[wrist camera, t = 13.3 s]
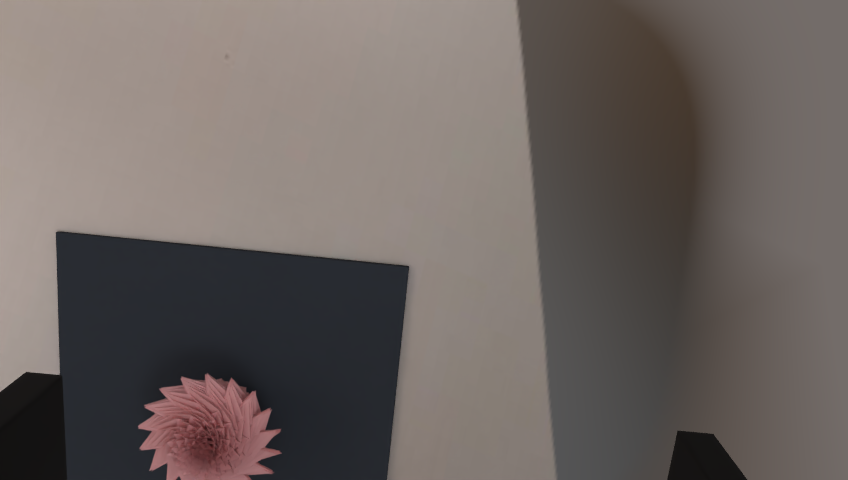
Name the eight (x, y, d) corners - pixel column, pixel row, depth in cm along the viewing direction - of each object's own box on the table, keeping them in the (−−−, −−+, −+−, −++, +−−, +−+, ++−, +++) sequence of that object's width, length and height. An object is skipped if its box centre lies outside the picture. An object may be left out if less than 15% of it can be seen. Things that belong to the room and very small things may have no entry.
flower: (311, 373, 41) (295, 421, 36) (268, 483, 43) (247, 544, 38) (183, 328, 40) (147, 369, 35) (145, 441, 42) (105, 497, 37)
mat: (408, 265, 40) (408, 267, 40) (378, 559, 45) (378, 562, 44) (58, 231, 39) (55, 232, 39) (66, 533, 44) (64, 536, 44)
